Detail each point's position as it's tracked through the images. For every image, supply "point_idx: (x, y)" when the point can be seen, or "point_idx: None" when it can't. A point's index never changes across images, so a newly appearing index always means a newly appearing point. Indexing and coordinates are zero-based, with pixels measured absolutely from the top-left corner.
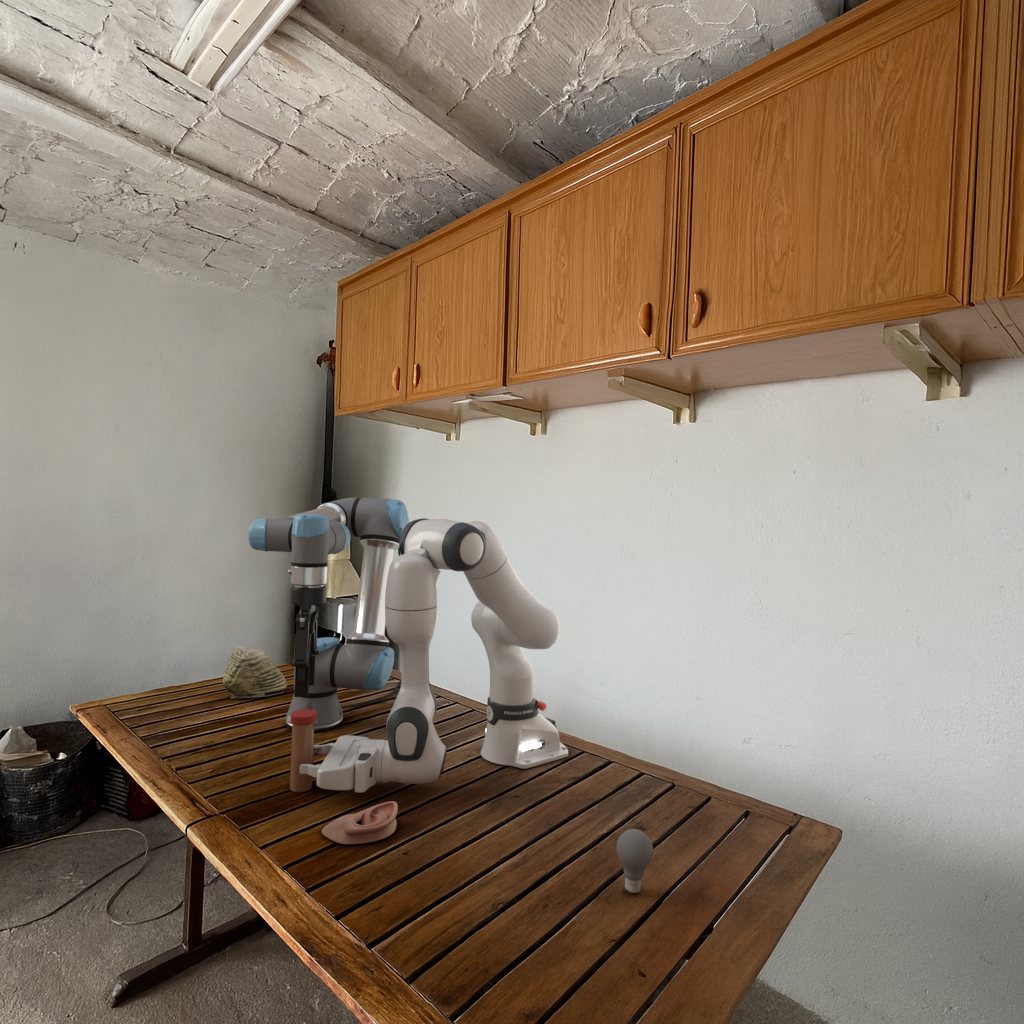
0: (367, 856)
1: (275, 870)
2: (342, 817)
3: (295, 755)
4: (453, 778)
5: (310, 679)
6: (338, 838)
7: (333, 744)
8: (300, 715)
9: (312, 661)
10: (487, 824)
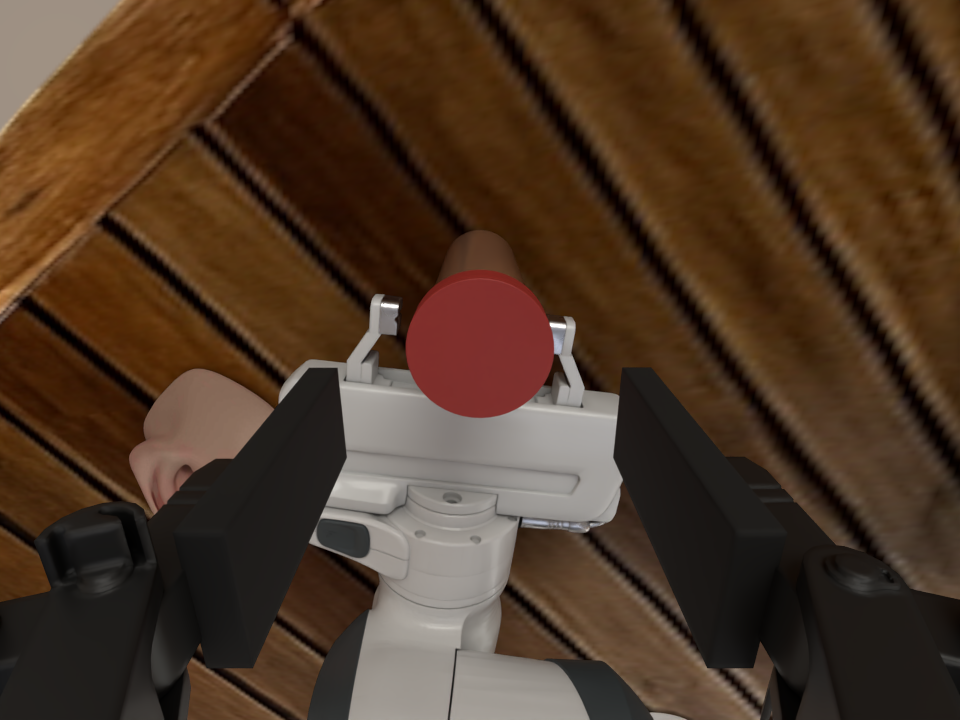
0: (111, 478)
1: (8, 282)
2: (235, 422)
3: (439, 274)
4: (510, 647)
5: (629, 459)
6: (150, 417)
7: (568, 398)
8: (438, 340)
9: (684, 593)
10: (277, 691)
